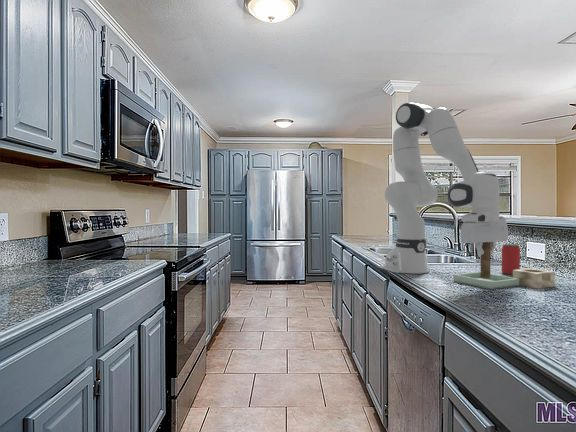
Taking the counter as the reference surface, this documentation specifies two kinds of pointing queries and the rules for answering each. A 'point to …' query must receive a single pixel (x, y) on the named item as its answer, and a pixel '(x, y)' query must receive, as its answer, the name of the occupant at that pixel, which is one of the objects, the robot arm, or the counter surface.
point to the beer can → (510, 258)
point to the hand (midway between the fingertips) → (485, 254)
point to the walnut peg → (485, 261)
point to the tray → (486, 280)
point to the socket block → (535, 278)
